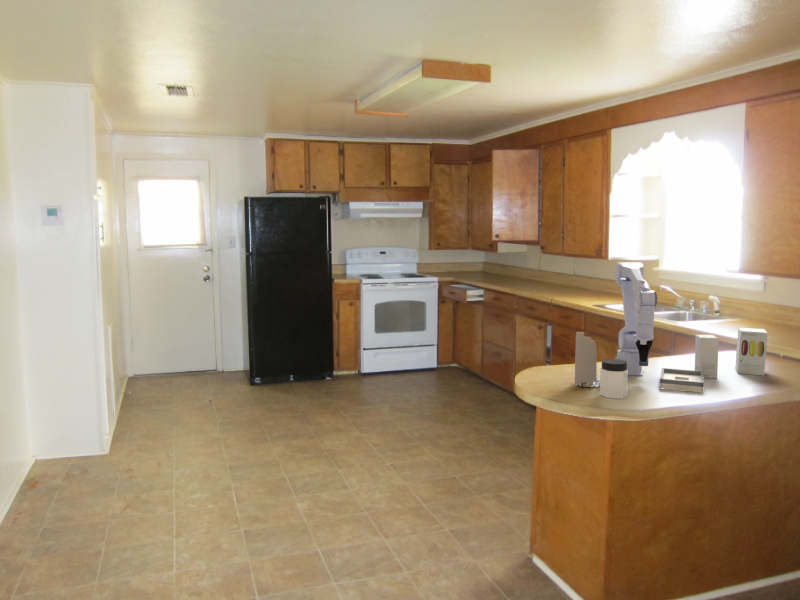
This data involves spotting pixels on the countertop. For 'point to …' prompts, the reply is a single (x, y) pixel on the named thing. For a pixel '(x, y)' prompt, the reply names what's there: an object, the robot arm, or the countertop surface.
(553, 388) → the countertop surface
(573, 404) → the countertop surface
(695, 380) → the tray
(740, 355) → the supplement box
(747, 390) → the countertop surface
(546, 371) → the countertop surface
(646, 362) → the peg
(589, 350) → the beige stepped upright panel
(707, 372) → the skincare box
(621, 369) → the jar
